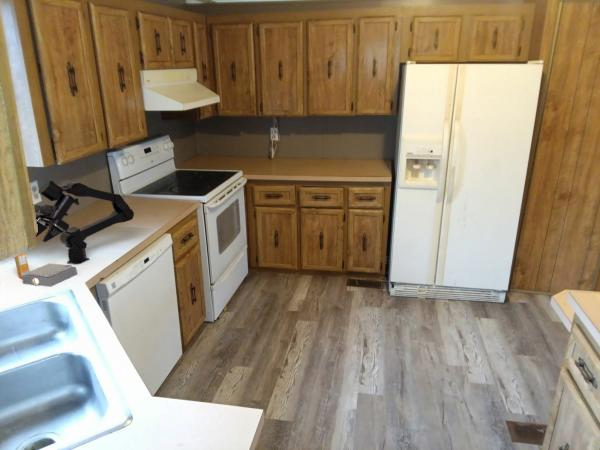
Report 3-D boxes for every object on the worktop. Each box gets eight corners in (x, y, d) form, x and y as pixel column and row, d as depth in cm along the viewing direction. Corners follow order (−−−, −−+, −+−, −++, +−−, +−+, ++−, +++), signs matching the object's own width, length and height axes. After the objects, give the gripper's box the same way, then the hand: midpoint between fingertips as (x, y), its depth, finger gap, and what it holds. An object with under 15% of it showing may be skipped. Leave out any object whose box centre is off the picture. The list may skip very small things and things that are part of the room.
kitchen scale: (50, 271, 181) (49, 264, 180) (77, 274, 177) (76, 267, 176) (21, 284, 168) (20, 276, 167) (49, 287, 164) (48, 279, 163)
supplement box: (17, 277, 175) (12, 253, 172) (26, 275, 177) (22, 251, 175) (21, 279, 173) (17, 255, 170) (30, 276, 176) (26, 252, 173)
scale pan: (49, 265, 179) (49, 263, 178) (71, 267, 176) (71, 265, 175) (26, 274, 168) (25, 272, 168) (49, 277, 165) (49, 275, 165)
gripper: (32, 194, 183) (8, 226, 177) (56, 198, 173) (32, 232, 167) (55, 209, 191) (32, 240, 185) (79, 214, 181) (56, 247, 175)
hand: (37, 240), depth 178 cm, fingers open, 9 cm apart
